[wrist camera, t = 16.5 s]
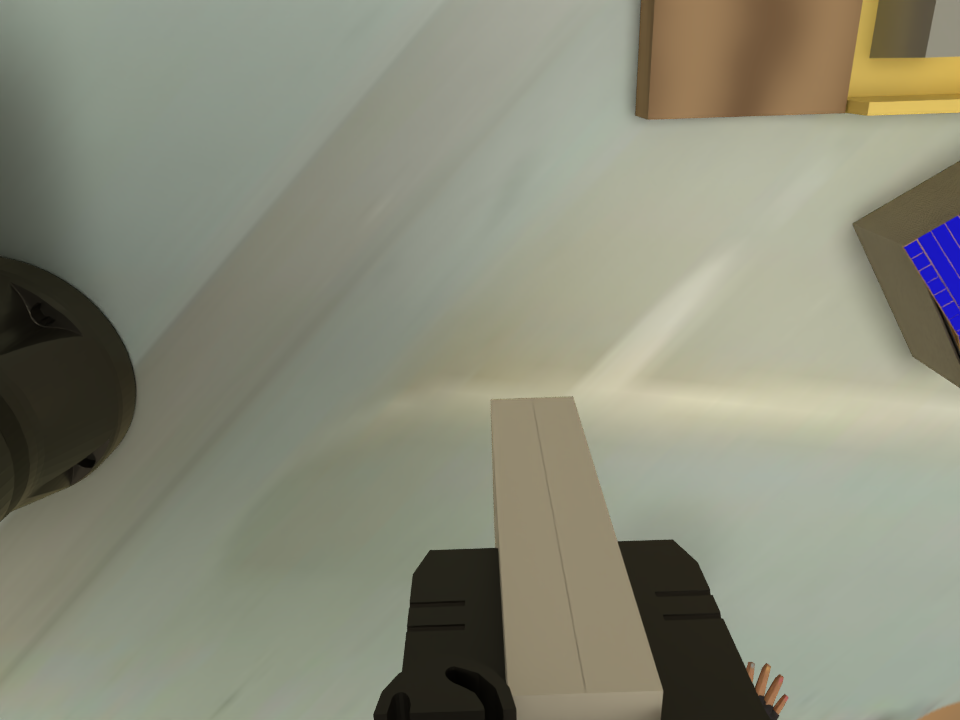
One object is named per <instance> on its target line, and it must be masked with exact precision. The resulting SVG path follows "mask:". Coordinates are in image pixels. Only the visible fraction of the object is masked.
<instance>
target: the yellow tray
mask: <svg viewBox="0 0 960 720" xmlns="http://www.w3.org/2000/svg"><path fill="white" fill-rule="evenodd" d="M878 2H879V0H863V3H862V9H861V15H860V22H859V28H858V34H857V41H856V47H855V53H854V60H853V66H852V72H851V79H850V85H849V91H848V98H847V104H846V110H845V113H852V114H859V115H867V116H869V115H899V114H928V113H958V112H960V57H930V58H869V56H870V50H871V44H872V38H873V32H874V26H875V20H876V14H877V8H878Z"/></svg>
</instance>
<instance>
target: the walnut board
mask: <svg viewBox="0 0 960 720" xmlns="http://www.w3.org/2000/svg"><path fill="white" fill-rule="evenodd" d="M862 3H863V0H641V12H640V32H639V52H638V72H637V92H636V112H635V116H639V117H642V118H645V119H648V120H650V119H679V118H709V117H739V116H768V115H798V114H827V113H845V110H846V104H847V98H848V91H849V85H850V79H851V72H852V66H853V60H854V53H855V47H856V41H857V34H858V28H859V22H860V15H861V9H862Z"/></svg>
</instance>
